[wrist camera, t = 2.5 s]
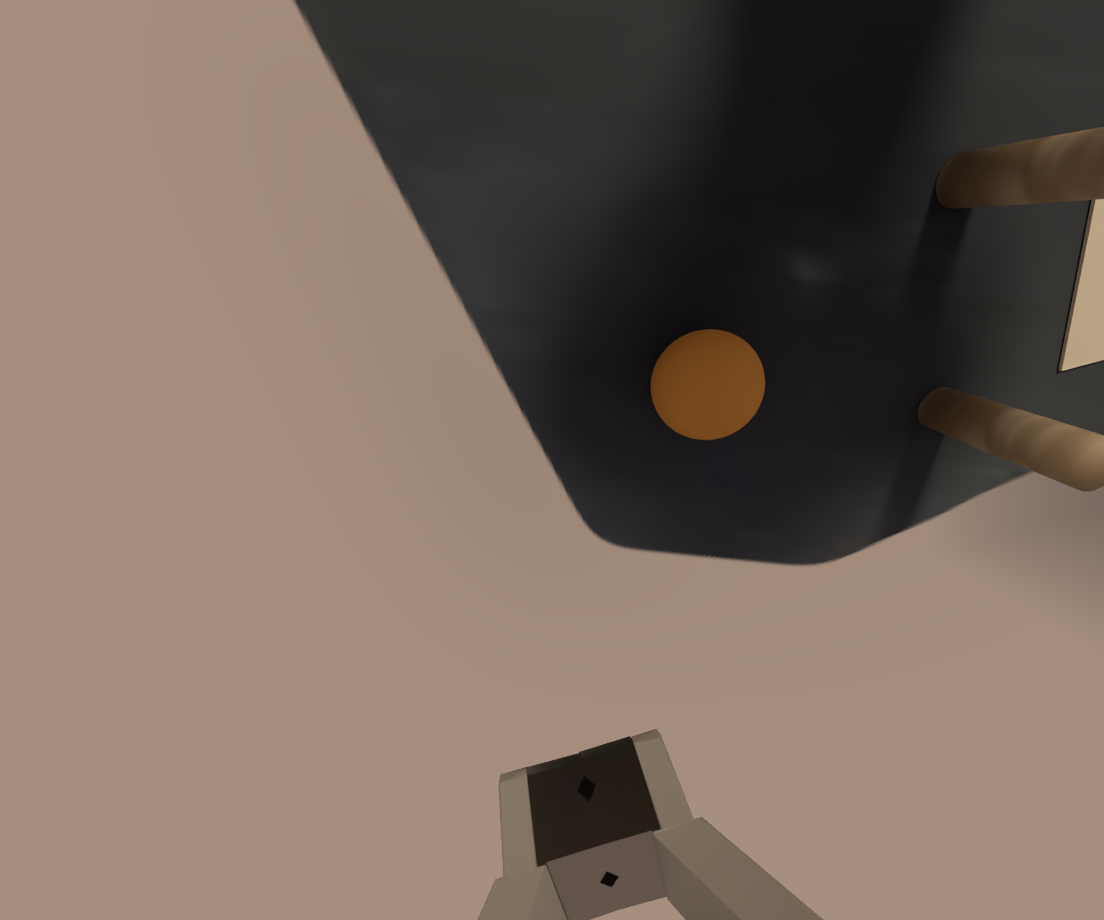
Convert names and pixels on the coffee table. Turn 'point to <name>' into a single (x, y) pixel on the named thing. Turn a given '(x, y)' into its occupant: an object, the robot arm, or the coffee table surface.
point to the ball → (707, 384)
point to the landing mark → (1087, 298)
